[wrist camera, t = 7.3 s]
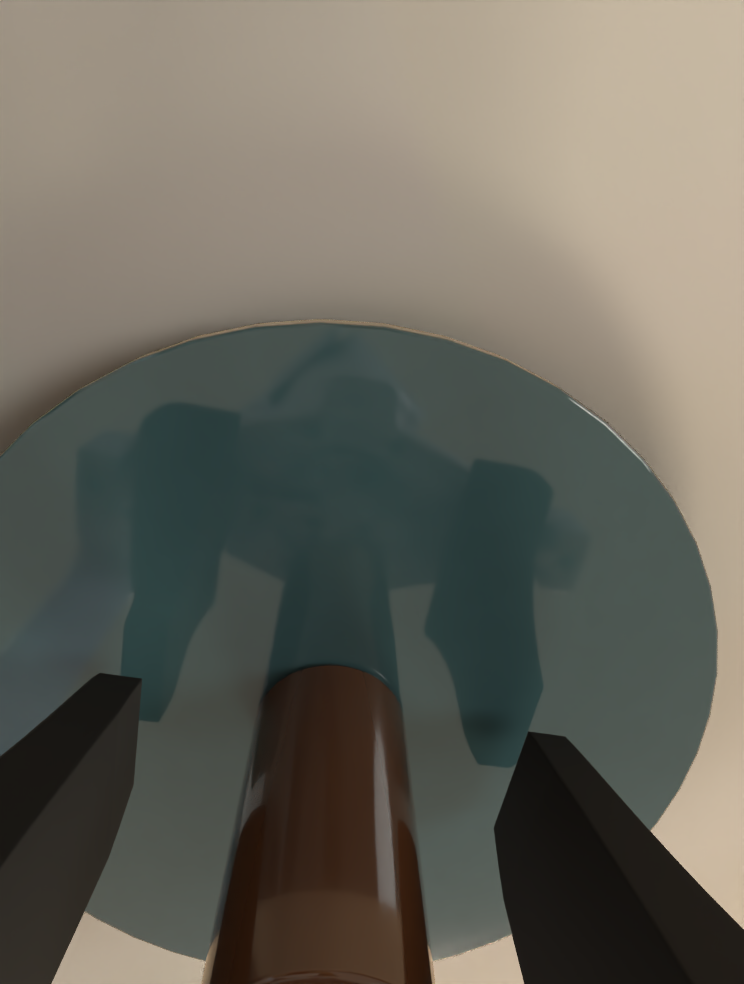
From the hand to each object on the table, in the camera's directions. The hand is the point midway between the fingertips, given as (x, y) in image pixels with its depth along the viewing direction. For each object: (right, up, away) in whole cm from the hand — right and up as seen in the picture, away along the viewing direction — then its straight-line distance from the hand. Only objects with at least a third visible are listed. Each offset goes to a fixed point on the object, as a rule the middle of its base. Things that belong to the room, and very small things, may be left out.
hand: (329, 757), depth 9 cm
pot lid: (0, +1, +1) cm, 1 cm away
